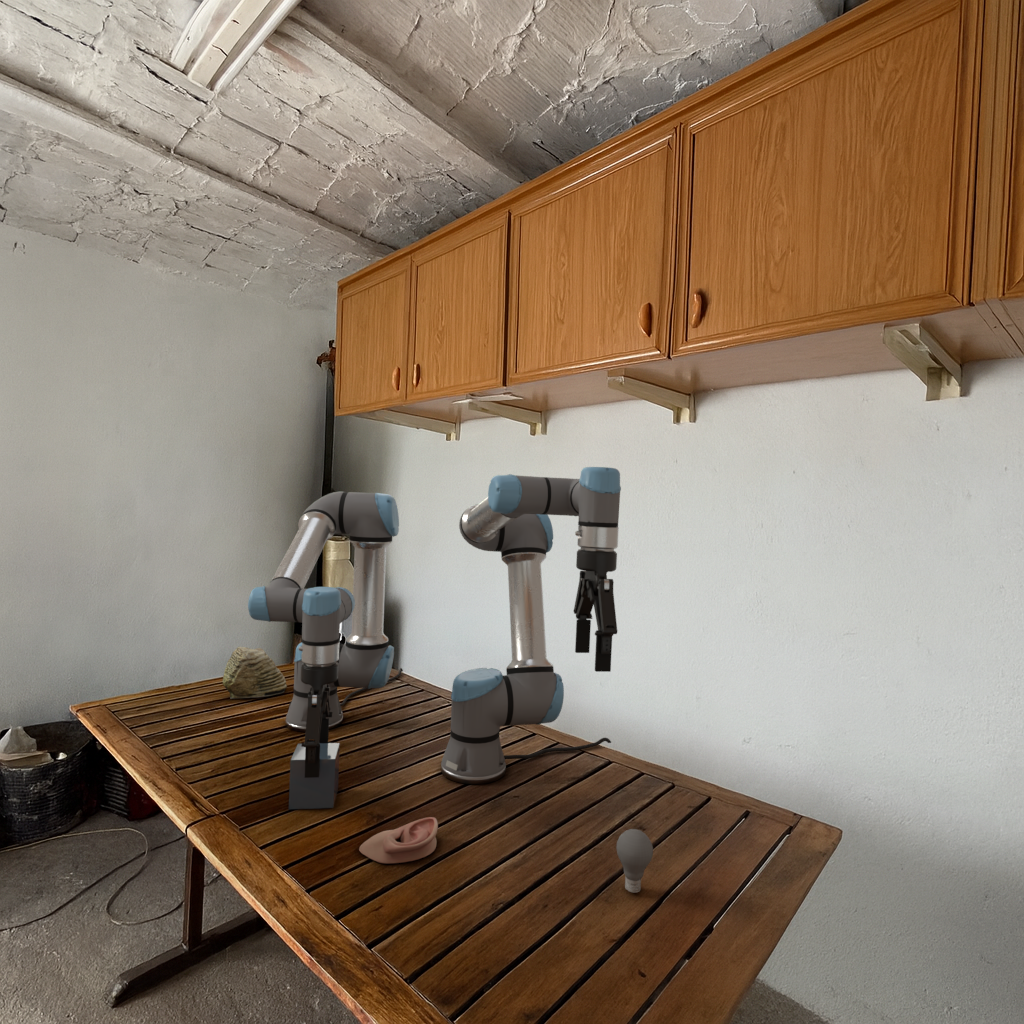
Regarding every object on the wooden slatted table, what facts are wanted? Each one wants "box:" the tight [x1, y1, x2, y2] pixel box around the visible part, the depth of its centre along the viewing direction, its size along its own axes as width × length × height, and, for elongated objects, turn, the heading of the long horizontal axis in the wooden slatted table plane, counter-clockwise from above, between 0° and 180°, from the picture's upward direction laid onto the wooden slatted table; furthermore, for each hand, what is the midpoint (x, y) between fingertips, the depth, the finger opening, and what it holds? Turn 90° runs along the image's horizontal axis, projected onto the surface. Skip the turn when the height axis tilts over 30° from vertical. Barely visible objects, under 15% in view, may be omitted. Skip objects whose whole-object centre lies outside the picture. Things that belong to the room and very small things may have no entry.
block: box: [288, 742, 341, 810], centre depth 133 cm, size 8×9×10 cm
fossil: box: [222, 646, 288, 699], centre depth 198 cm, size 9×18×15 cm, turn 132°
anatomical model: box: [358, 816, 439, 864], centre depth 116 cm, size 13×4×12 cm
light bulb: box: [615, 828, 654, 894], centre depth 106 cm, size 6×6×10 cm
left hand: (316, 761), depth 133 cm, fingers open, 13 cm apart
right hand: (591, 661), depth 120 cm, fingers open, 13 cm apart
